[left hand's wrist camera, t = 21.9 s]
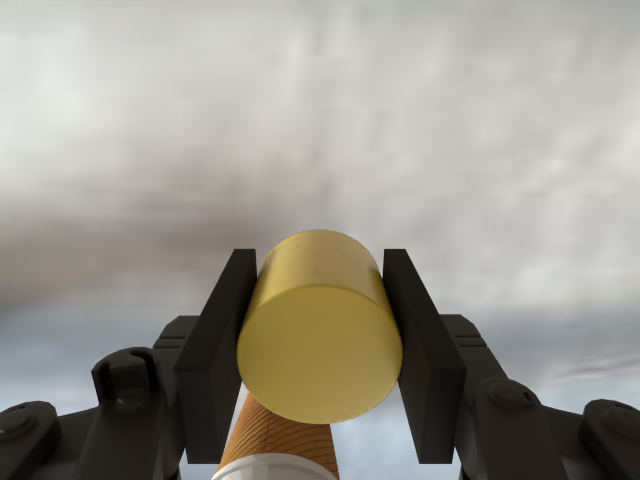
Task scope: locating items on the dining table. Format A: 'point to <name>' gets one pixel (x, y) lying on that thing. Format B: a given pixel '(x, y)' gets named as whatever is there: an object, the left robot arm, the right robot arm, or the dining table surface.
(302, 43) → the dining table surface
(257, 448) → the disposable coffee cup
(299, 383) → the canister
